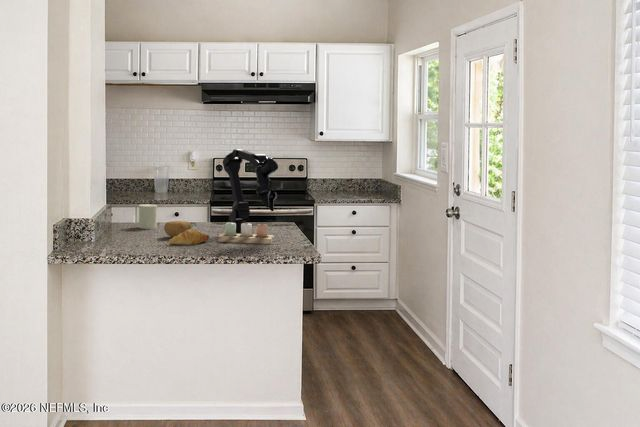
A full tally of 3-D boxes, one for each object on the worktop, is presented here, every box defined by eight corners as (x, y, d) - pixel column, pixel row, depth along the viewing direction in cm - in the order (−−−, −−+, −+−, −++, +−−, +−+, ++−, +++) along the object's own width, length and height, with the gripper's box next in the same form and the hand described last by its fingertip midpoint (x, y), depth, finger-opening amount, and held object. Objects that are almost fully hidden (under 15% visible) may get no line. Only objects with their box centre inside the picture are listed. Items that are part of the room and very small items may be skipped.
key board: (217, 241, 376) (218, 236, 375) (221, 238, 387) (222, 233, 386) (271, 243, 375) (271, 238, 374) (273, 240, 385) (273, 235, 385)
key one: (224, 235, 378) (224, 223, 378) (226, 233, 383) (226, 222, 382) (234, 235, 378) (235, 223, 377) (236, 234, 383) (236, 222, 382)
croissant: (172, 253, 360) (177, 239, 357) (161, 240, 366) (166, 226, 362) (211, 248, 375) (216, 234, 371) (200, 236, 380) (205, 222, 377)
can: (160, 227, 413) (161, 204, 412) (147, 229, 405) (148, 205, 404) (147, 225, 418) (147, 202, 417) (134, 227, 410) (134, 204, 409)
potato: (196, 237, 385) (196, 221, 384) (170, 239, 376) (170, 223, 375) (185, 234, 393) (185, 218, 392) (159, 237, 383) (160, 220, 382)
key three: (256, 236, 378) (256, 224, 377) (257, 235, 383) (257, 223, 382) (266, 237, 377) (267, 225, 377) (267, 235, 382) (268, 223, 382)
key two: (240, 236, 378) (240, 224, 377) (241, 234, 383) (242, 222, 382) (250, 236, 378) (251, 224, 377) (252, 235, 383) (252, 223, 382)
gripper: (274, 169, 375) (282, 200, 372) (283, 178, 393) (290, 208, 390) (252, 175, 376) (259, 207, 373) (261, 184, 394) (268, 214, 391)
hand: (270, 209), depth 382 cm, fingers open, 9 cm apart
